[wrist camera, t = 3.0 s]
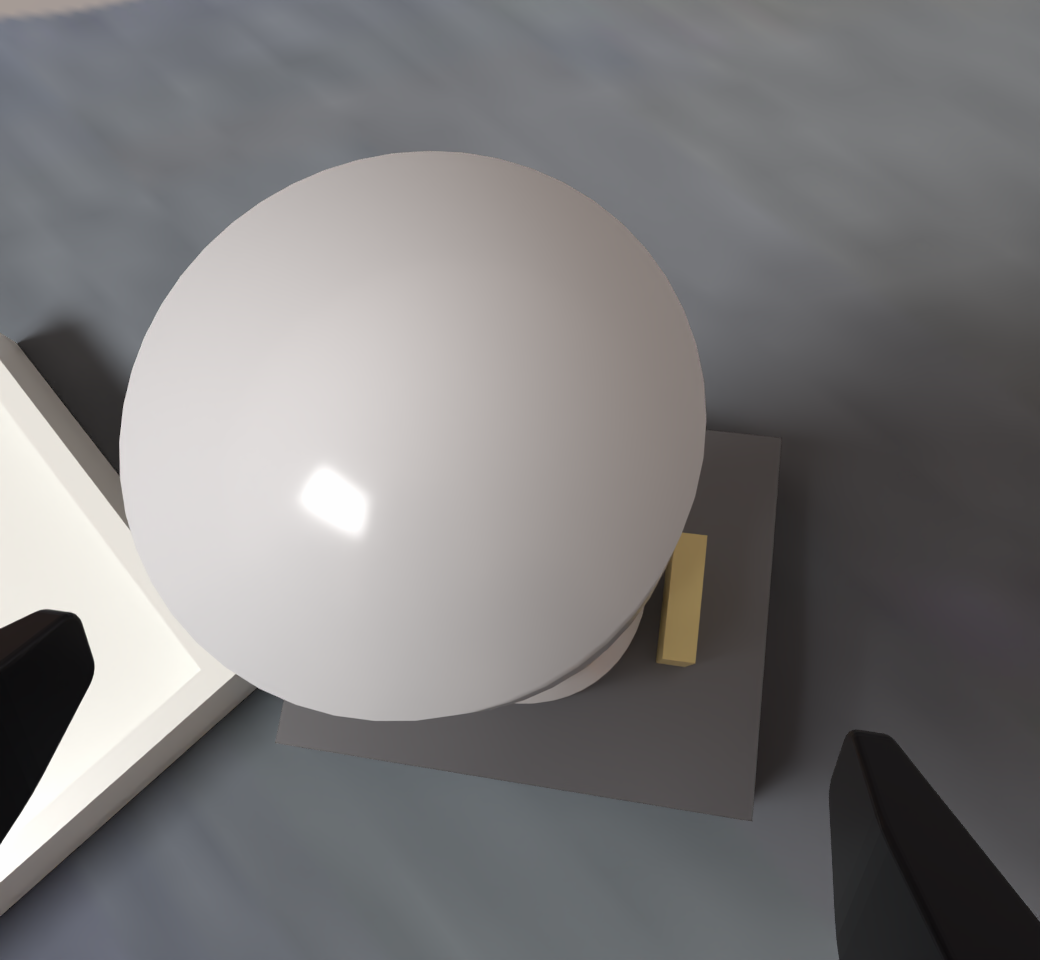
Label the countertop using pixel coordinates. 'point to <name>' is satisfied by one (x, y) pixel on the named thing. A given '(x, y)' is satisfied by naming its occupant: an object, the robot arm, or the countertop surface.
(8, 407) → the tray
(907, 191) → the countertop surface
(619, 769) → the fuse block
